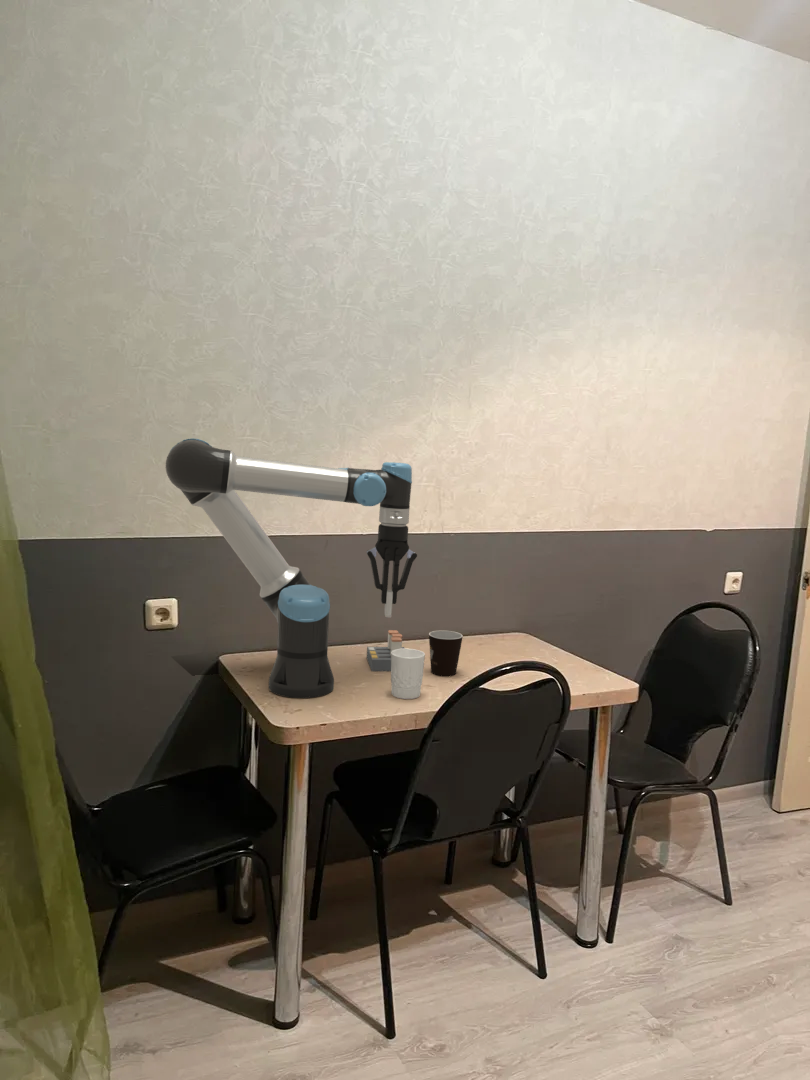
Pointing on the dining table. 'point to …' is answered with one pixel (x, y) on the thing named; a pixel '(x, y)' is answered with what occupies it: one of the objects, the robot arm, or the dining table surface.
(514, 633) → the dining table surface
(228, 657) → the dining table surface
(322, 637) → the robot arm
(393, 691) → the white cup
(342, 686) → the dining table surface
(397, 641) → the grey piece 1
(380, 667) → the grey slotted tray
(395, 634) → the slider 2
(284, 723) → the dining table surface
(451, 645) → the coffee mug
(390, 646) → the slider
